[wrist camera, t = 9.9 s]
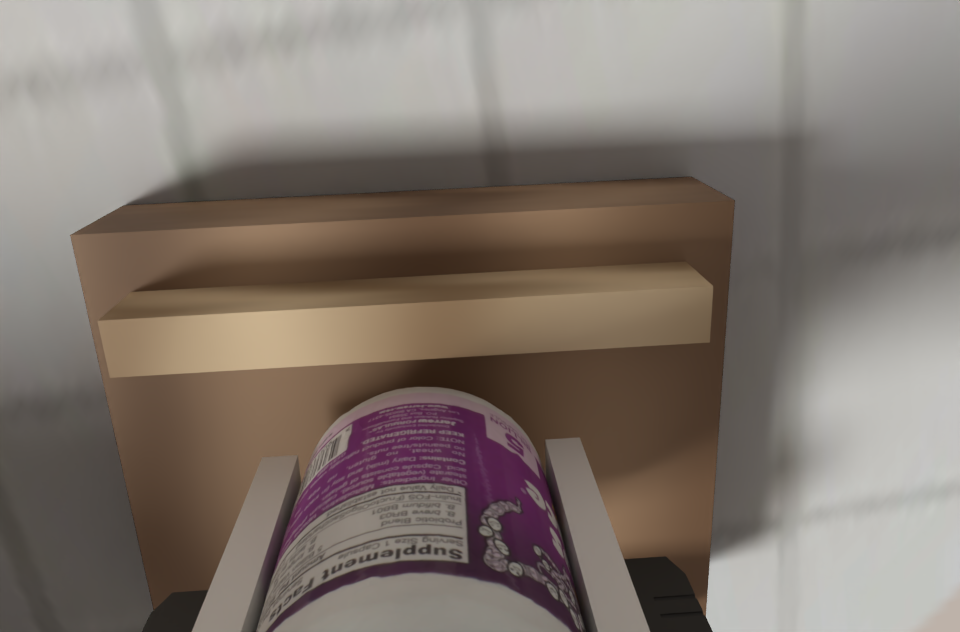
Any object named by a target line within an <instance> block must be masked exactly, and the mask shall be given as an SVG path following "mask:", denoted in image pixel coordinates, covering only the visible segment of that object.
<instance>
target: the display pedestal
mask: <svg viewBox="0 0 960 632" xmlns="http://www.w3.org/2000/svg"><path fill="white" fill-rule="evenodd" d="M734 206H735V200H733V199H731V198H729V197H727V196H726V195H724V194H722V193H720V192H718V191H717V190H715V189H713V188H711V187H709V186H708V185H706V184H704V183H702V182H700V181H698V180H697V179H695V178H693V177H676V178H656V179H637V180H617V181H597V182H577V183H557V184H538V185H518V186H498V187H478V188H459V189H439V190H419V191H399V192H379V193H360V194H340V195H320V196H300V197H280V198H261V199H241V200H221V201H201V202H181V203H162V204H142V205H124V206H122V207H120V208H118V209H116V210H115V211H113V212H111V213H109V214H107V215H106V216H104V217H102V218H100V219H98V220H97V221H95V222H93V223H91V224H89V225H88V226H86V227H84V228H82V229H80V230H78V231H77V232H75V233H73V234H71V235H70V236H71V240H72V245H73V249H74V254H75V258H76V263H77V267H78V272H79V276H80V281H81V285H82V290H83V294H84V299H85V303H86V308H87V312H88V317H89V321H90V326H91V330H92V335H93V339H94V344H95V348H96V353H97V357H98V362H99V366H100V371H101V375H102V380H103V384H104V389H105V393H106V398H107V402H108V407H109V411H110V416H111V420H112V425H113V429H114V434H115V438H116V443H117V447H118V452H119V456H120V461H121V465H122V470H123V474H124V479H125V483H126V488H127V492H128V497H129V501H130V506H131V510H132V515H133V519H134V524H135V528H136V533H137V537H138V542H139V546H140V551H141V555H142V560H143V564H144V569H145V573H146V578H147V582H148V587H149V591H150V596H151V600H152V605H153V609H154V610H155V609H156V608H157V607H158V606H159V605H160V604H161V603H162V602H163V601H164V600H165V599H166V598H167V597H168V596H169V595H170V594H171V593H172V592H186V591H200V590H209V588H210V585H211V583H212V580H213V578H214V575H215V573H216V570H217V568H218V565H219V563H220V561H221V558H222V556H223V553H224V551H225V548H226V546H227V543H228V541H229V538H230V536H231V533H232V531H233V528H234V526H235V523H236V521H237V519H238V516H239V514H240V511H241V509H242V506H243V504H244V501H245V499H246V496H247V494H248V491H249V489H250V486H251V484H252V481H253V479H254V477H255V474H256V472H257V469H258V467H259V464H260V462H261V459H262V457H277V456H292V455H298V460H299V467H300V475H301V482H302V480H303V478H304V474H305V471H306V468H307V466H308V463H309V461H310V458H311V455H312V453H313V451H314V449H315V447H316V446H317V444H318V442H319V441H320V439H321V438H322V436H323V435H324V434H325V432H326V431H327V430H328V429H329V427H330V426H331V425H332V424H333V423H334V422H335V421H336V420H337V419H338V418H339V417H340V416H342V415H343V414H345V413H347V412H349V411H350V410H351V409H353V408H354V407H356V406H357V405H359V404H361V403H362V402H364V401H366V400H368V399H370V398H373V397H375V396H377V395H380V394H382V393H385V392H389V391H393V390H396V389H403V388H412V387H440V388H448V389H454V390H458V391H462V392H465V393H468V394H471V395H474V396H476V397H479V398H481V399H484V400H485V401H487V402H489V403H491V404H492V405H494V406H495V407H497V408H498V409H500V410H502V411H503V412H504V413H505V414H507V415H509V416H510V417H511V418H512V419H513V420H514V421H515V422H516V423H517V424H518V425H519V426H520V427H521V428H522V429H523V431H524V432H525V433H526V434H527V436H528V437H529V439H530V441H531V442H532V444H533V446H534V447H535V449H536V451H537V453H538V455H539V458H540V460H541V463H542V466H543V469H544V472H545V476H546V471H545V440H546V439H562V438H578V437H580V440H581V442H582V445H583V448H584V451H585V453H586V456H587V459H588V462H589V464H590V467H591V470H592V473H593V475H594V478H595V481H596V484H597V486H598V489H599V492H600V495H601V498H602V500H603V503H604V506H605V509H606V511H607V514H608V517H609V520H610V522H611V525H612V528H613V531H614V533H615V536H616V539H617V542H618V544H619V547H620V550H621V553H622V555H623V558H624V559H634V558H649V557H663V556H666V557H667V558H668V559H669V560H671V561H672V562H673V563H674V564H675V565H676V566H677V567H678V568H680V569H681V570H682V571H683V572H684V573H685V574H686V576H687V578H688V580H689V582H690V585H691V587H692V589H693V591H694V593H695V598H697V600H698V602H699V604H700V606H701V608H702V610H703V615H705V617H706V603H707V589H708V575H709V561H710V547H711V532H712V518H713V504H714V490H715V476H716V461H717V447H718V433H719V419H720V405H721V390H722V376H723V362H724V348H725V334H726V319H727V305H728V291H729V277H730V263H731V248H732V234H733V220H734Z"/></svg>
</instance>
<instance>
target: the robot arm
mask: <svg viewBox="0 0 960 632" xmlns="http://www.w3.org/2000/svg"><path fill="white" fill-rule="evenodd" d="M545 471H546V479H547V483H548V486H549V490H550V493H551V497H552V502H553V506H554V509H555V512H556V516H557V521H558V525H559V528H560V530H561V534H562V538H563V542H564V546H565V550H566V555H567V559H568V562H569V565H570V568H571V572H572V577H573V581H574V585H575V589H576V593H577V597H578V601H579V605H580V609H581V613H582V617H583V621H584V624H585V627H586V631H587V632H712V630H711V627H710V625H709V623H708V621H707V619H706V617H705V615H703V610H702V608H701V606H700V604H699V602H698V600H697V598H695V593H694V591H693V589H692V587H691V585H690V582H689V580H688V578H687V576H686V574H685V573H684V572H683V571H682V570H681V569H680V568H678V567H677V566H676V565H675V564H674V563H673V562H672V561H671V560H669V559H668V558H667V557H666V556H663V557H649V558H634V559H624V558H623V555H622V553H621V550H620V547H619V544H618V542H617V539H616V536H615V533H614V531H613V528H612V525H611V522H610V520H609V517H608V514H607V511H606V509H605V506H604V503H603V500H602V498H601V495H600V492H599V489H598V486H597V484H596V481H595V478H594V475H593V473H592V470H591V467H590V464H589V462H588V459H587V456H586V453H585V451H584V448H583V445H582V442H581V440H580V437H578V438H562V439H546V440H545ZM301 483H302V482H301V475H300V467H299V460H298V455H292V456H277V457H262V459H261V462H260V464H259V467H258V469H257V472H256V474H255V477H254V479H253V481H252V484H251V486H250V489H249V491H248V494H247V496H246V499H245V501H244V504H243V506H242V509H241V511H240V514H239V516H238V519H237V521H236V523H235V526H234V528H233V531H232V533H231V536H230V538H229V541H228V543H227V546H226V548H225V551H224V553H223V556H222V558H221V561H220V563H219V565H218V568H217V570H216V573H215V575H214V578H213V580H212V583H211V585H210V588H209V590H200V591H186V592H172V593H171V594H170V595H169V596H168V597H167V598H166V599H165V600H164V601H163V602H162V603H161V604H160V605H159V606H158V607H157V608H156V609H155V610H154V611H153V612H152V613H151V614H150V616H149V618H148V620H147V623H146V625H145V627H144V629H143V631H142V632H256V630H257V627H258V623H259V620H260V616H261V613H262V610H263V607H264V603H265V599H266V595H267V593H268V590H269V586H270V583H271V579H272V576H273V573H274V569H275V565H276V562H277V558H278V555H279V552H280V549H281V546H282V542H283V539H284V536H285V532H286V529H287V526H288V523H289V520H290V518H291V514H292V510H293V507H294V504H295V501H296V498H297V495H298V492H299V489H300V486H301Z"/></svg>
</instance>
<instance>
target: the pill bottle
mask: <svg viewBox="0 0 960 632" xmlns="http://www.w3.org/2000/svg"><path fill="white" fill-rule="evenodd" d="M256 632H587V631H586V627H585V624H584V621H583V617H582V613H581V609H580V605H579V601H578V597H577V593H576V589H575V585H574V581H573V577H572V572H571V568H570V565H569V562H568V559H567V555H566V550H565V546H564V542H563V538H562V534H561V530H560V528H559V525H558V521H557V516H556V512H555V509H554V506H553V502H552V497H551V493H550V490H549V486H548V483H547V479H546V476H545V472H544V469H543V466H542V463H541V460H540V458H539V455H538V453H537V451H536V449H535V447H534V446H533V444H532V442H531V441H530V439H529V437H528V436H527V434H526V433H525V432H524V431H523V429H522V428H521V427H520V426H519V425H518V424H517V423H516V422H515V421H514V420H513V419H512V418H511V417H510V416H509V415H507V414H505V413H504V412H503V411H502V410H500V409H498V408H497V407H495V406H494V405H492V404H491V403H489V402H487V401H485V400H484V399H481V398H479V397H476V396H474V395H471V394H468V393H465V392H462V391H458V390H454V389H448V388H440V387H412V388H403V389H396V390H393V391H389V392H385V393H382V394H380V395H377V396H375V397H373V398H370V399H368V400H366V401H364V402H362V403H361V404H359V405H357V406H356V407H354V408H353V409H351V410H350V411H349V412H347V413H345V414H343V415H342V416H340V417H339V418H338V419H337V420H336V421H335V422H334V423H333V424H332V425H331V426H330V427H329V429H328V430H327V431H326V432H325V434H324V435H323V436H322V438H321V439H320V441H319V442H318V444H317V446H316V447H315V449H314V451H313V453H312V455H311V458H310V461H309V463H308V466H307V468H306V471H305V474H304V478H303V480H302V483H301V486H300V489H299V492H298V495H297V498H296V501H295V504H294V507H293V510H292V514H291V518H290V520H289V523H288V526H287V529H286V532H285V536H284V539H283V542H282V546H281V549H280V552H279V555H278V558H277V562H276V565H275V569H274V573H273V576H272V579H271V583H270V586H269V590H268V593H267V595H266V599H265V603H264V607H263V610H262V613H261V616H260V620H259V623H258V627H257V630H256Z"/></svg>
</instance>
